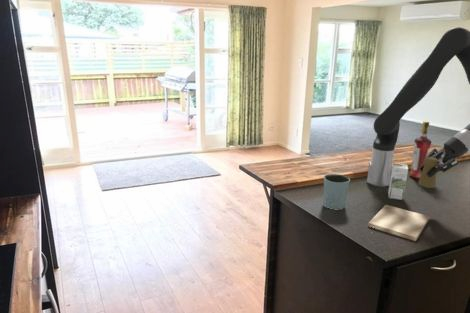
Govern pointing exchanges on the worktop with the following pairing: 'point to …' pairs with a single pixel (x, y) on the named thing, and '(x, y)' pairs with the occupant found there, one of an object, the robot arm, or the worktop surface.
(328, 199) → the blue-grey cup
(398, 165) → the syrup box
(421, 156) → the liquor
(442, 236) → the worktop surface
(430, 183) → the cork
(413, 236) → the birch board
